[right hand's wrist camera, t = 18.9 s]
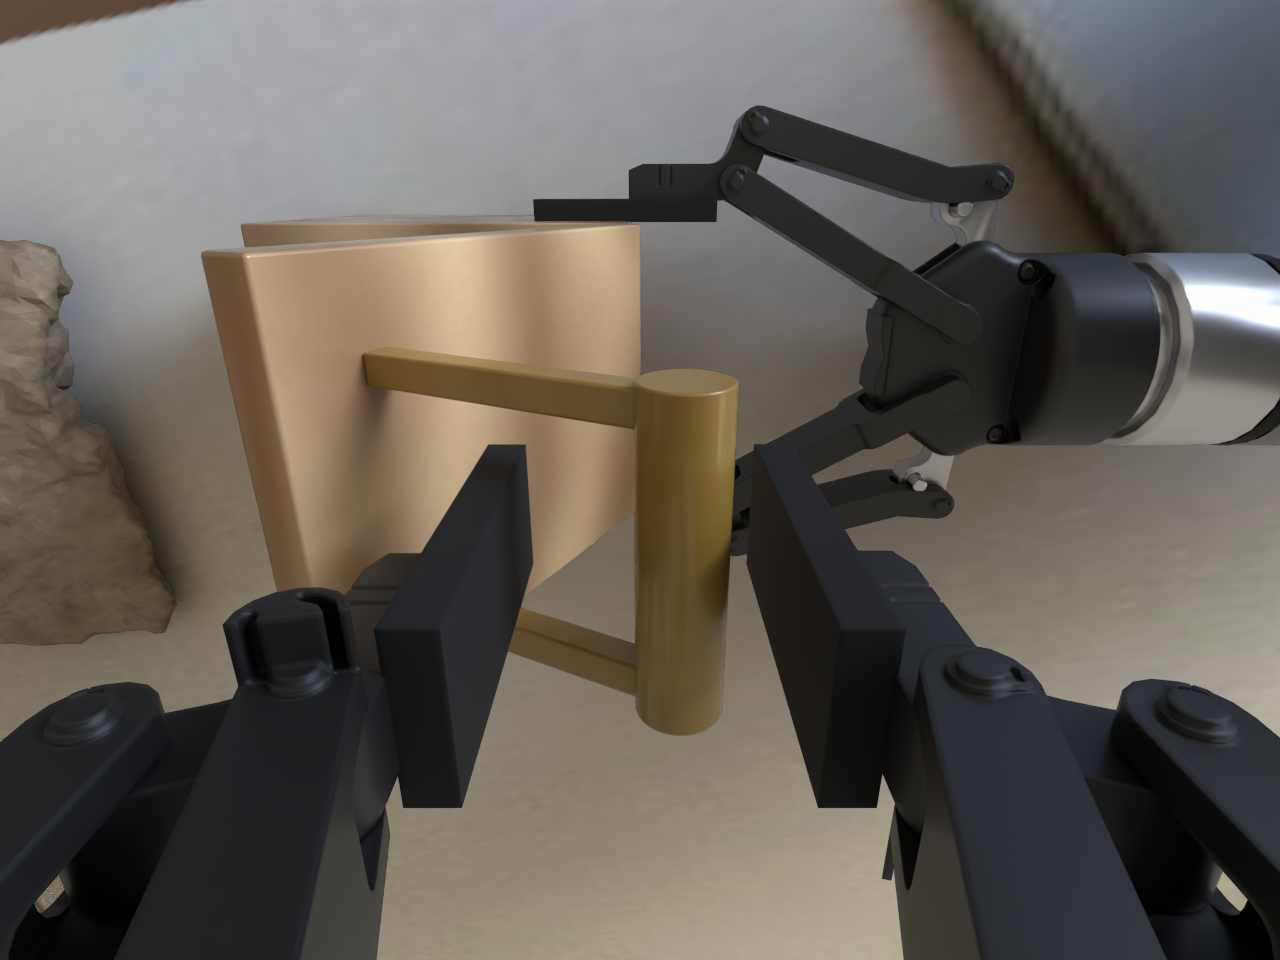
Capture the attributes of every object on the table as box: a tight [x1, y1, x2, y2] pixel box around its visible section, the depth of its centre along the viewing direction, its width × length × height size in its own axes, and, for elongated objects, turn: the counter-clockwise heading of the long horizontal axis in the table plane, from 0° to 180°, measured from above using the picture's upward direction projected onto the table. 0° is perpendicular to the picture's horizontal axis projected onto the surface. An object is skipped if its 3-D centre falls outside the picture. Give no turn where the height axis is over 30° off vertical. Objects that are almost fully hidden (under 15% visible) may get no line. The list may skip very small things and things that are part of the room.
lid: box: [201, 224, 739, 736], centre depth 17 cm, size 14×10×9 cm
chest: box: [241, 216, 630, 248], centre depth 30 cm, size 13×10×10 cm
